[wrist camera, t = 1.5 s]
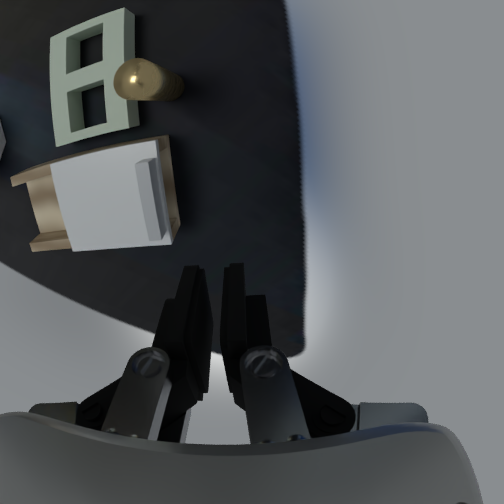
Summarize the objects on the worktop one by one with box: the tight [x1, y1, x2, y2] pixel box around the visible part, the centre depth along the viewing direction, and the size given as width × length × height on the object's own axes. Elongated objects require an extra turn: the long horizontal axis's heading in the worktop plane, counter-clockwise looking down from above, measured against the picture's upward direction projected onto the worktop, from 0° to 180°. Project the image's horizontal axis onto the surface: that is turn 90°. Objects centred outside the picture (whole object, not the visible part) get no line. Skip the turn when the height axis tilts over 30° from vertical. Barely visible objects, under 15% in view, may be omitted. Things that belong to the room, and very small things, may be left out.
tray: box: [10, 135, 180, 252], centre depth 26 cm, size 10×20×4 cm, turn 92°
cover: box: [50, 139, 173, 251], centre depth 23 cm, size 10×12×3 cm
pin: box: [113, 58, 184, 101], centre depth 18 cm, size 3×3×10 cm
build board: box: [50, 8, 140, 147], centre depth 20 cm, size 13×9×3 cm
